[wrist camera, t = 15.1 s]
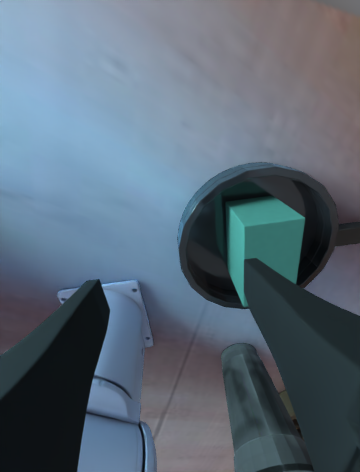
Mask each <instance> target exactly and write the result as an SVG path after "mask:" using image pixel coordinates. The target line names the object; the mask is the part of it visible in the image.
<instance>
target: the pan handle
mask: <svg viewBox="0 0 360 472" xmlns="http://www.w3.org/2000/svg"><path fill="white" fill-rule="evenodd" d="M337 232H338V233H337V238H336V243H335V247H336V246H343V245H350V244H357V243H360V222H353V223H346V224H339V230H338V231H337Z"/></svg>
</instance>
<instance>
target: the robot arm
mask: <svg viewBox="0 0 360 472" xmlns="http://www.w3.org/2000/svg"><path fill="white" fill-rule="evenodd" d="M133 288H136V290H134V289H133ZM244 294H245V297H246V300H247V303H248V306H249V309H250V311H251V313H252V315H253V317H254V319H255V321H256V323H257V325H258V327H259V329H260V331H261V333H262V335H263V337H264V339H265V341H266V343H267V345H268V347H269V349H270V351H271V353H272V355H273V358H274V360H275V362H276V365H277V367H278V370H279V372H280V375H281V378H282V380H283V383H284V385H285V388H286V391H287V394H288V396H289V399H290V402H291V404H292V407H293V410H294V413H295V416H296V418H297V421H298V424H299V427H300V430H301V433H302V436H303V438H304V442H305V445H306V448H307V451H308V454H309V457H310V460H311V463H312V466H313V469H314V472H360V316H359V315H356V314H354V313H351V312H349V311H347V310H344V309H342V308H340V307H338V306H335V305H333V304H331V303H329V302H327V301H325V300H323V299H321V298H319V297H317V296H315V295H313V294H312V293H310V292H308V291H306V290H305V289H303V288H301V287H299V286H298V285H296V284H295V283H293V282H291V281H290V280H288V279H287V278H285V277H284V276H282V275H281V274H279V273H278V272H276V271H275V270H273V269H272V268H270V267H269V266H267V265H266V264H265V263H263V262H262V261H260V260H259V259H257V258H251V259H244ZM57 297H58V299H59V301H60V303H61V306H60V307H59V308H58V309H57V310H56V311H55V312H54V313H53V314H52V315H50V316H49V317H48V318H47V319H46V320H45V321H44V322H43V323H42V324H40V325H39V326H38V327H37V328H36V329H35V330H33V331H32V332H31V333H30V334H29V335H27V336H26V337H25V338H24V339H22V340H21V341H20V342H18V343H17V344H16V345H15V346H13V347H12V348H11V349H9V350H8V351H6V352H5V353H4V354H2V355H1V356H0V472H157V458H156V449H155V444H154V441H153V437H152V433H151V430H150V428H149V426H148V425H147V424H146V423H145V422H143V421H140V410H141V404H140V399H141V389H142V377H143V365H144V353H145V348H146V347H151V346H153V345H154V341H153V337H152V333H151V329H150V325H149V321H148V317H147V313H146V309H145V306H144V302H143V298H142V294H141V290H140V286H139V283H138V281H136V280H129V281H122V282H115V283H107V284H101V282H100V279H96V280H89V281H86V282H85V283H84V284H83V285H82V286H81V287H78V288H71V289H63V290H60V291H59V292H58V294H57ZM64 298H66V299H64Z"/></svg>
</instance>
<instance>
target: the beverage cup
mask: <svg viewBox="0 0 360 472" xmlns="http://www.w3.org/2000/svg"><path fill="white" fill-rule="evenodd" d="M221 360H222V368H223V369H222V372H223V379H224V385H225V392H226V399H227V406H228V412H229V419H230V426H231V433H232V439H233V446H234V453H235V456H234V467H235V472H314V469H313V466H312V463H311V460H310V457H309V454H308V451H307V448H306V445H305V442H304V441H303V440H302V439H301V437H300V435H299V433H298V431H297V429H296V427H295V425H294V423H293V421H292V419H291V417H290V415H289V413H288V411H287V409H286V407H285V405H284V403H283V401H282V399H281V397H280V395H279V393H278V391H277V389H276V387H275V386H274V384H273V382H272V380H271V378H270V376H269V374H268V372H267V370H266V368H265V366H264V364H263V362H262V360H261V359H260V357H259V355H258V354H257V352H256V349H255V348H254V347H253V346H251V345H250V344H245V343H238V344H234V345H231V346H229V347H228V348H226V349H225V350H224V351H223V353H222V355H221Z"/></svg>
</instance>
